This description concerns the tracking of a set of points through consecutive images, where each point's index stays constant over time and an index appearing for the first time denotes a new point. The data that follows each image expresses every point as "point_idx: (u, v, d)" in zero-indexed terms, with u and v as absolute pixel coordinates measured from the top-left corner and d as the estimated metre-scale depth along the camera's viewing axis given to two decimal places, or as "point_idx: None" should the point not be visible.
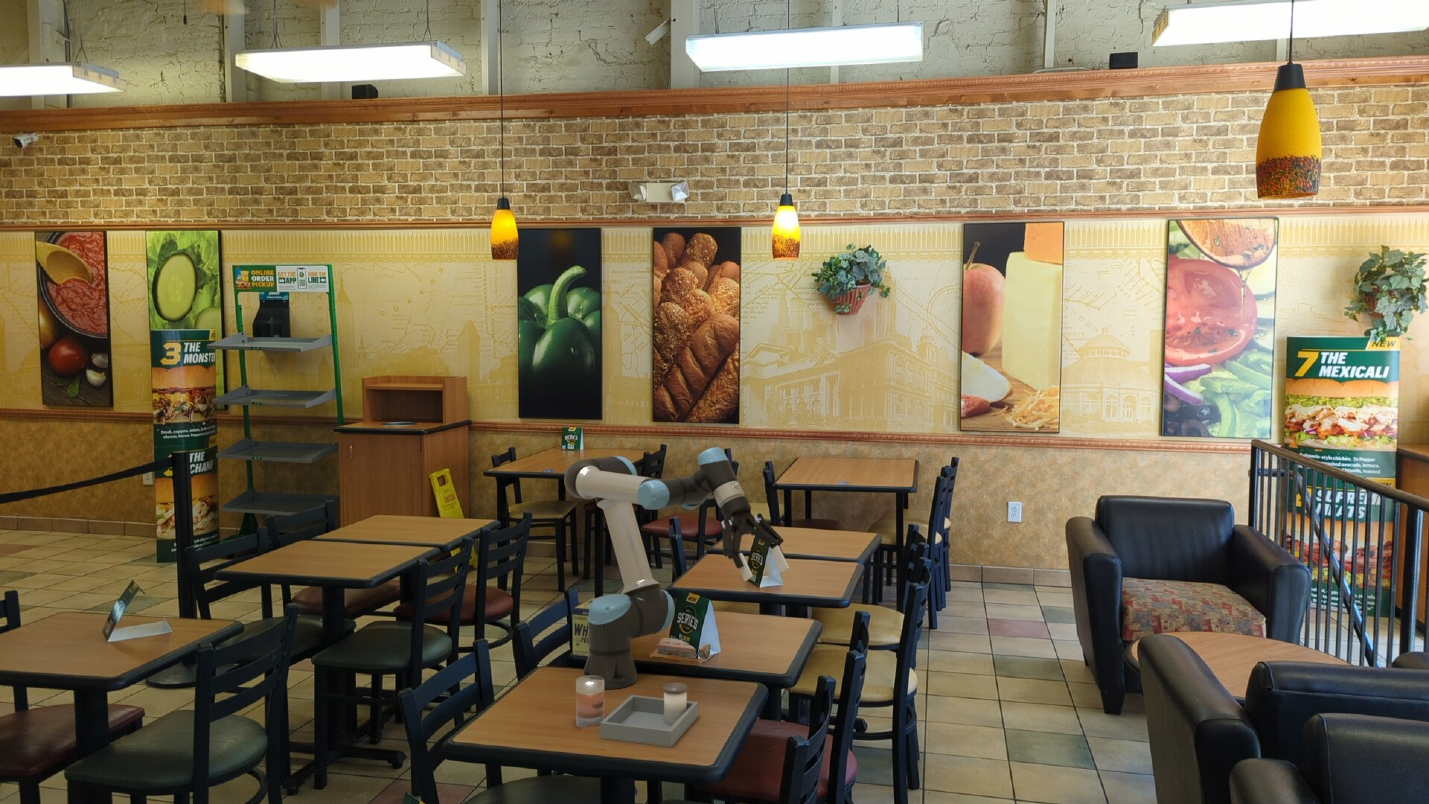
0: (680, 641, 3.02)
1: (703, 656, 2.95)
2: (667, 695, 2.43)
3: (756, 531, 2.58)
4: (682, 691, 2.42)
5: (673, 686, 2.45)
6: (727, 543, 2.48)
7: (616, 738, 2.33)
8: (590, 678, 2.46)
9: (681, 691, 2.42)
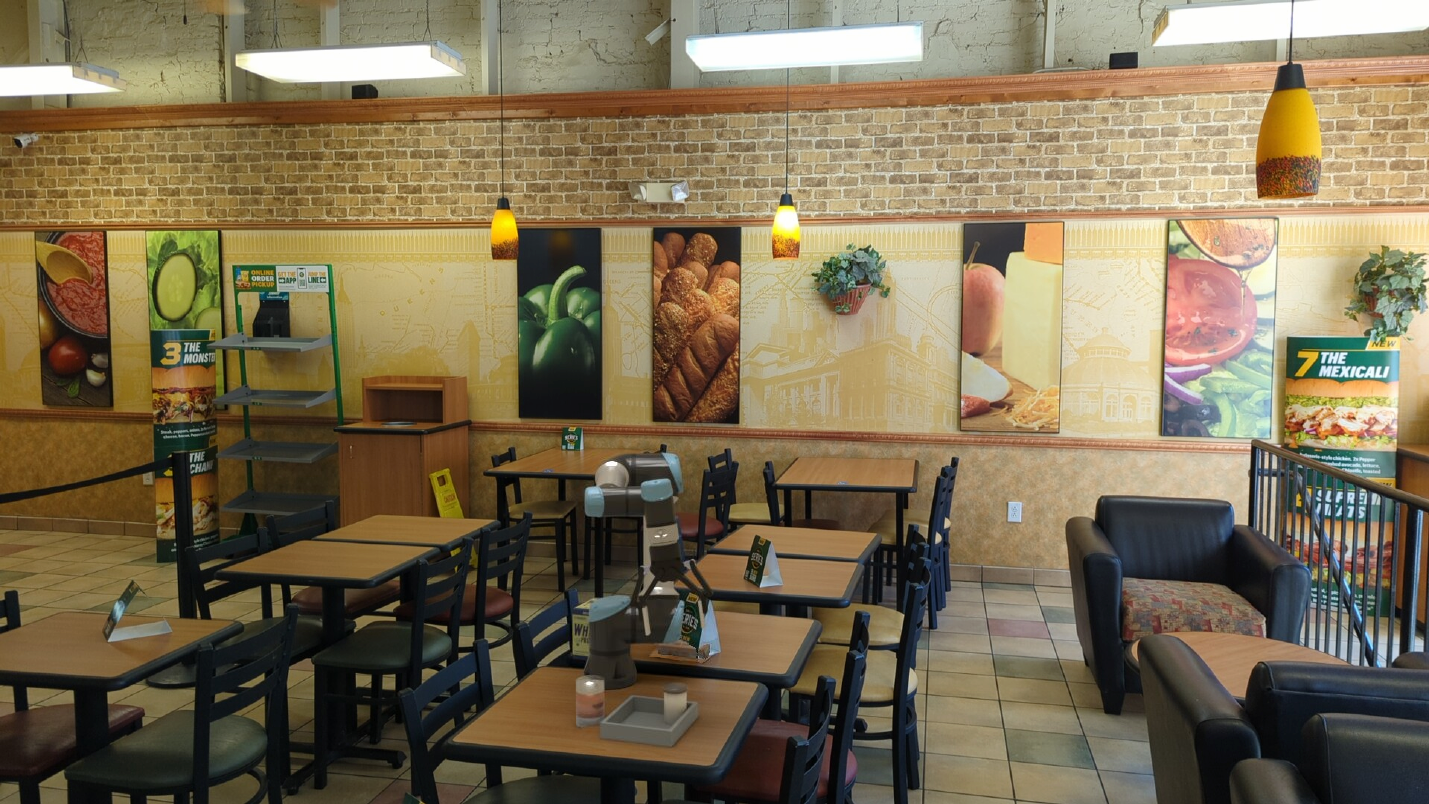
0: (680, 641, 3.01)
1: (703, 656, 2.95)
2: (667, 695, 2.43)
3: None
4: (682, 691, 2.42)
5: (673, 686, 2.45)
6: (632, 595, 2.38)
7: (616, 738, 2.33)
8: (590, 678, 2.46)
9: (681, 691, 2.42)
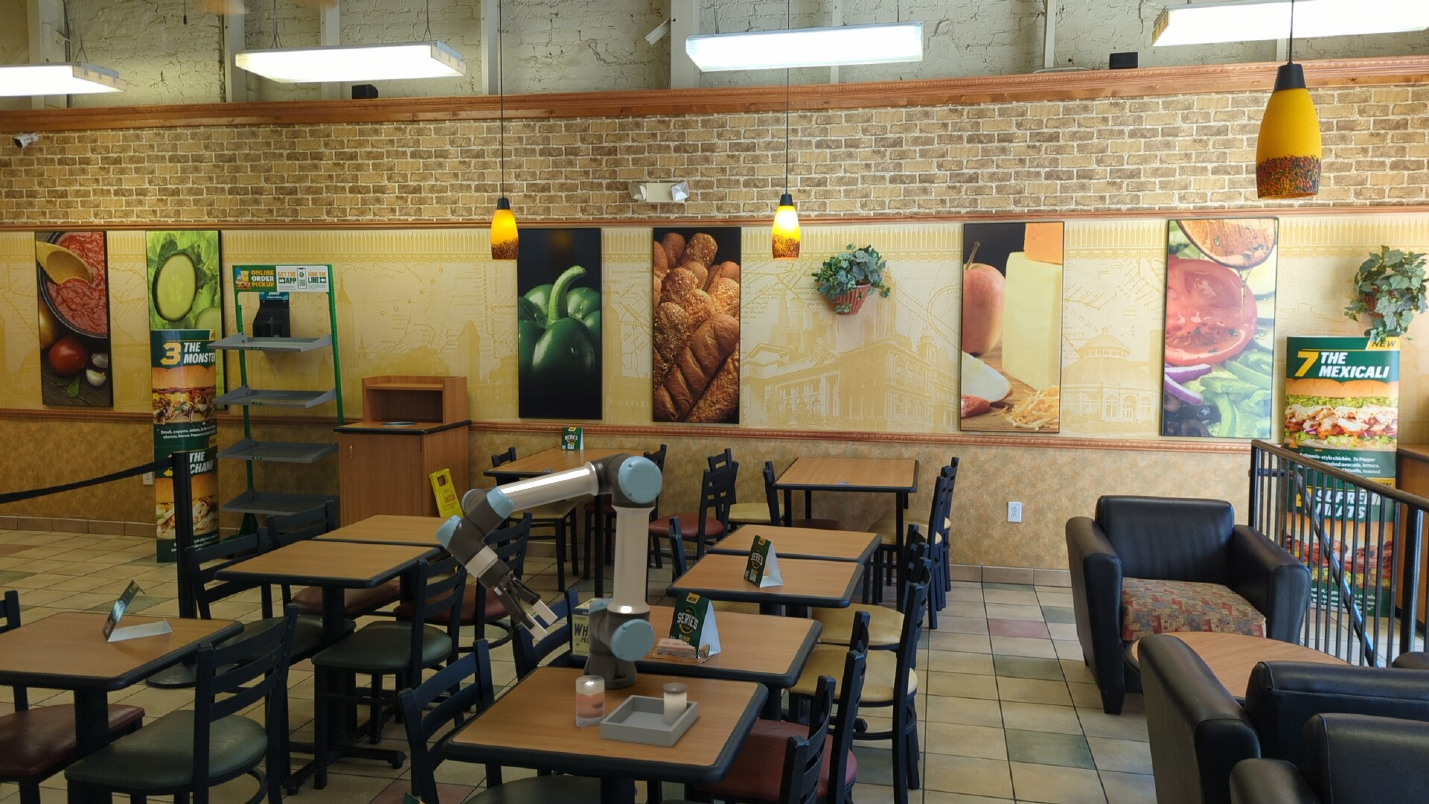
0: (679, 641, 3.01)
1: (703, 656, 2.95)
2: (667, 695, 2.43)
3: None
4: (682, 691, 2.42)
5: (673, 686, 2.45)
6: None
7: (616, 738, 2.33)
8: (590, 678, 2.46)
9: (681, 691, 2.42)
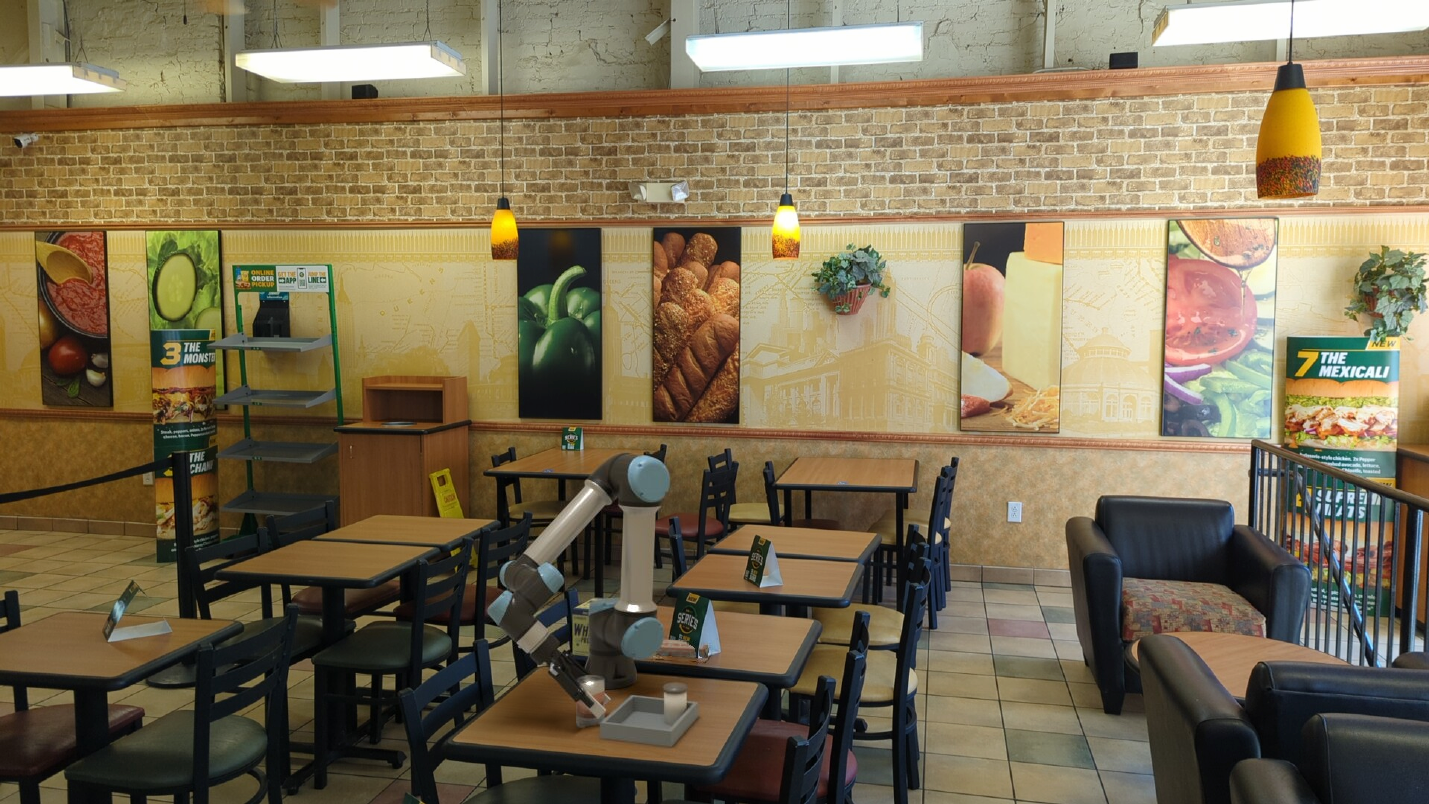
0: (678, 642, 3.01)
1: (704, 655, 2.96)
2: (667, 695, 2.43)
3: None
4: (681, 691, 2.42)
5: (673, 686, 2.45)
6: None
7: (616, 738, 2.33)
8: (590, 678, 2.46)
9: (680, 691, 2.42)
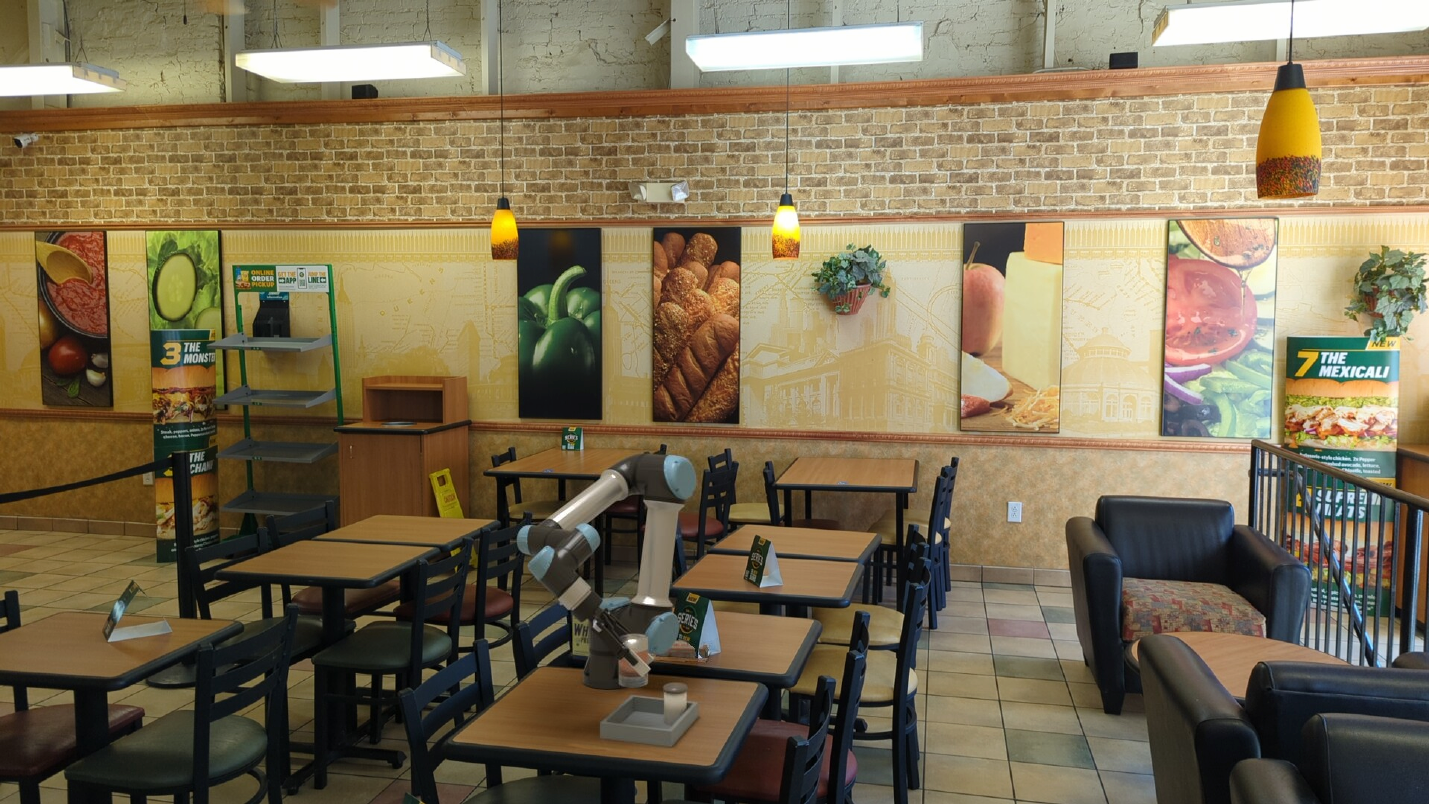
0: (677, 642, 3.00)
1: (704, 655, 2.96)
2: (667, 695, 2.43)
3: None
4: (680, 691, 2.42)
5: (673, 686, 2.45)
6: None
7: (616, 738, 2.33)
8: (633, 637, 2.39)
9: (679, 691, 2.42)
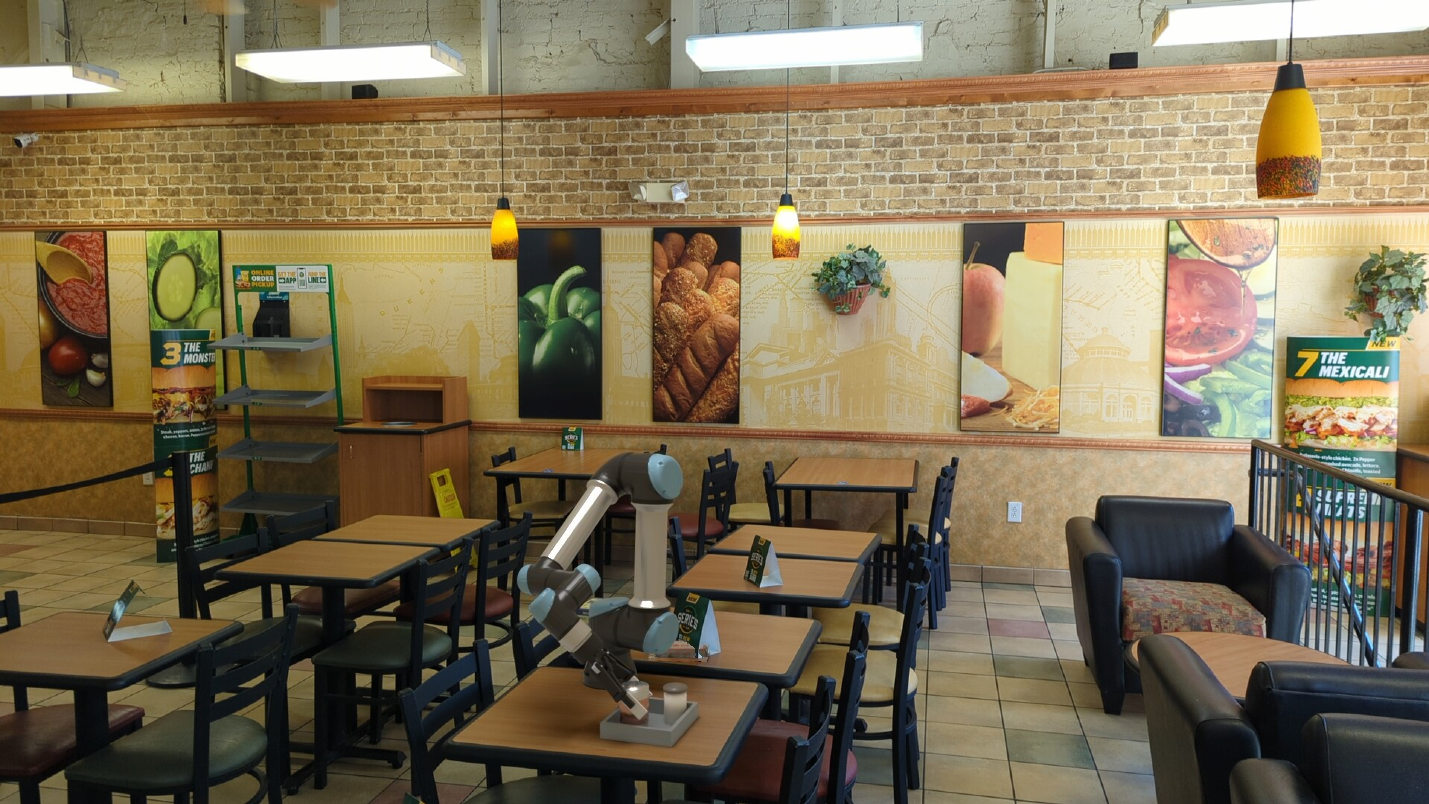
0: (676, 642, 3.00)
1: (705, 655, 2.96)
2: (667, 695, 2.43)
3: None
4: (680, 692, 2.42)
5: (673, 686, 2.45)
6: None
7: (616, 738, 2.33)
8: (634, 684, 2.39)
9: (679, 691, 2.42)
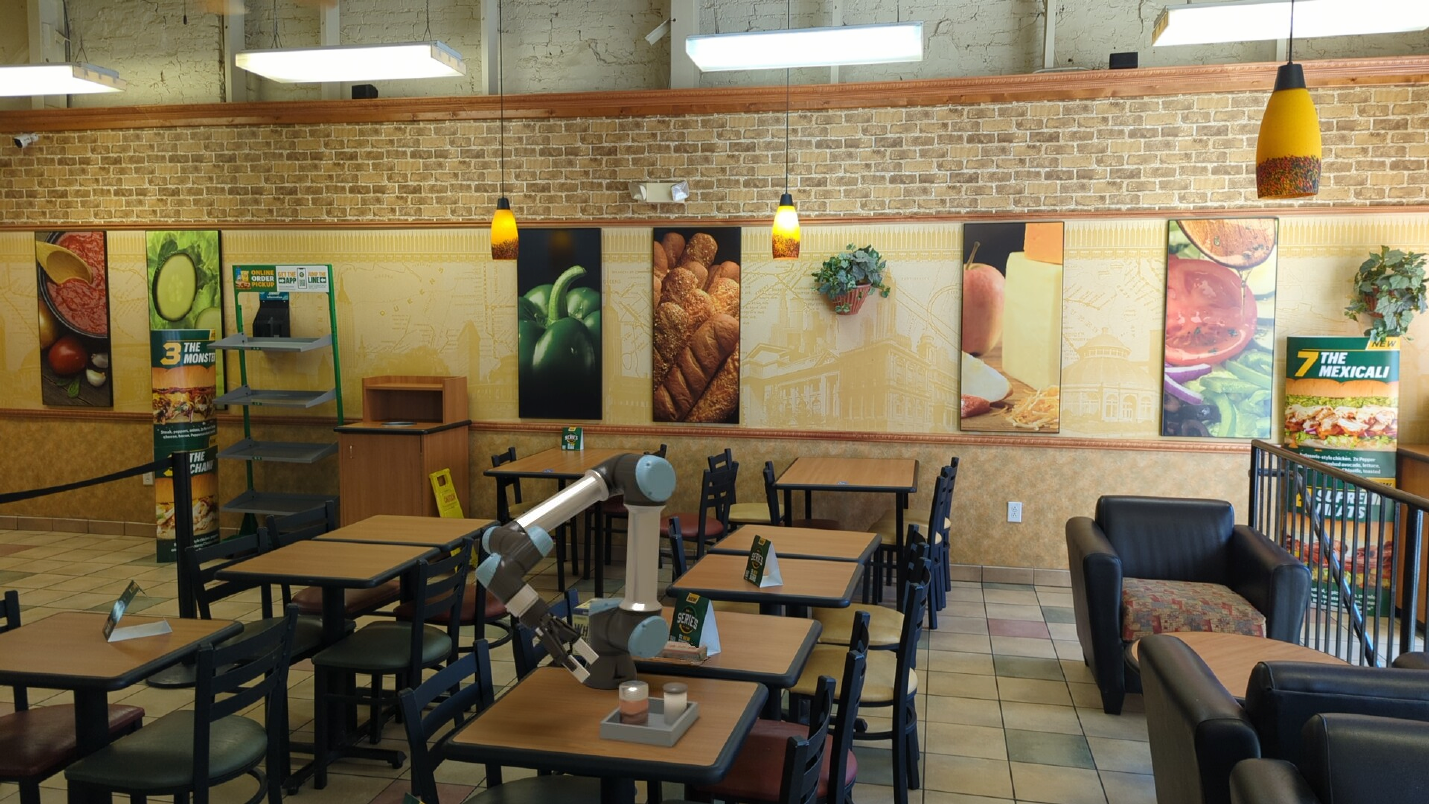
0: (675, 643, 2.99)
1: (698, 658, 2.93)
2: (667, 695, 2.43)
3: None
4: (679, 692, 2.42)
5: (673, 686, 2.45)
6: None
7: (616, 738, 2.33)
8: (633, 684, 2.39)
9: (678, 691, 2.42)
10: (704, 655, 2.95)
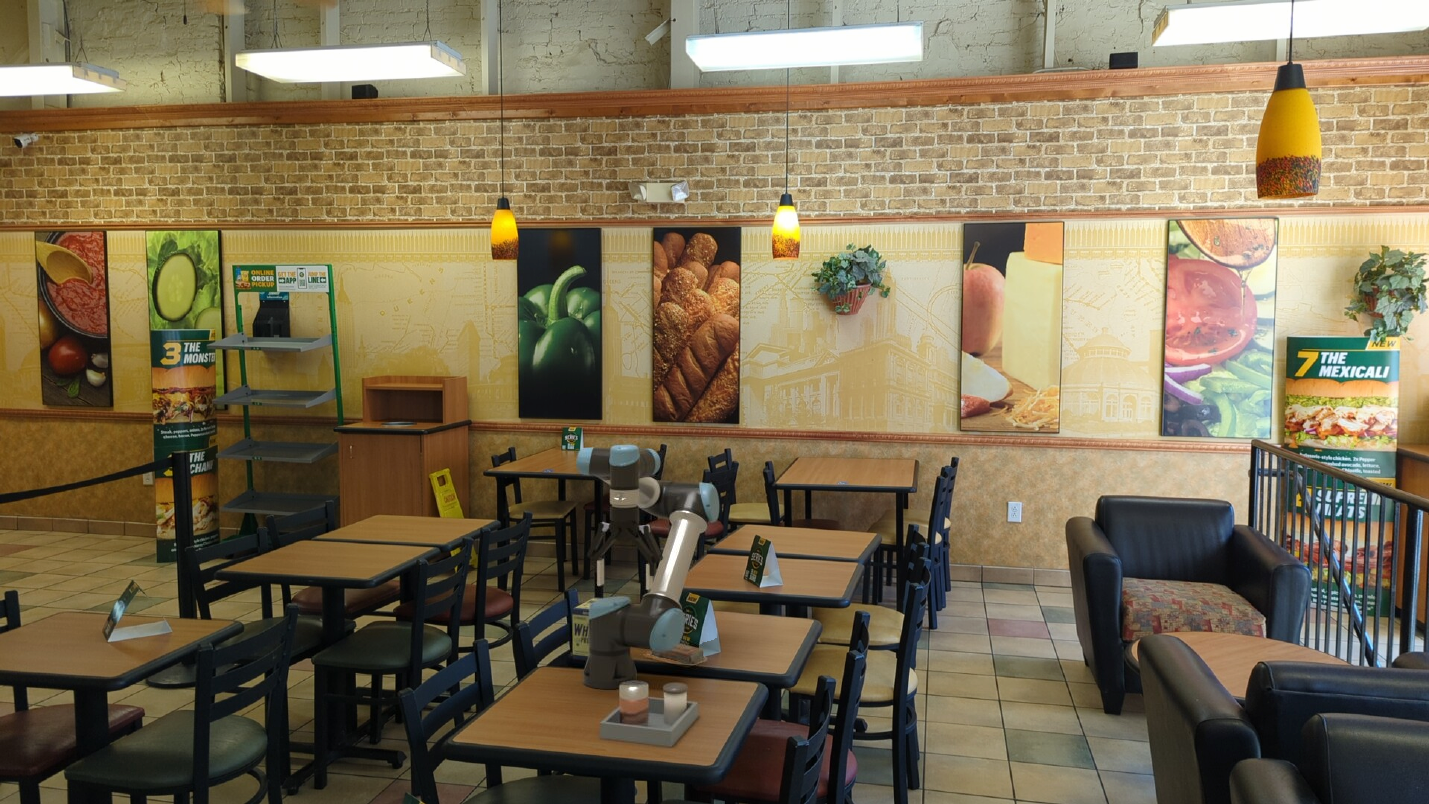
0: None
1: (689, 661, 2.90)
2: (667, 695, 2.43)
3: None
4: (678, 692, 2.42)
5: (673, 686, 2.45)
6: None
7: (616, 738, 2.33)
8: (633, 684, 2.40)
9: (677, 691, 2.42)
10: (697, 658, 2.92)
